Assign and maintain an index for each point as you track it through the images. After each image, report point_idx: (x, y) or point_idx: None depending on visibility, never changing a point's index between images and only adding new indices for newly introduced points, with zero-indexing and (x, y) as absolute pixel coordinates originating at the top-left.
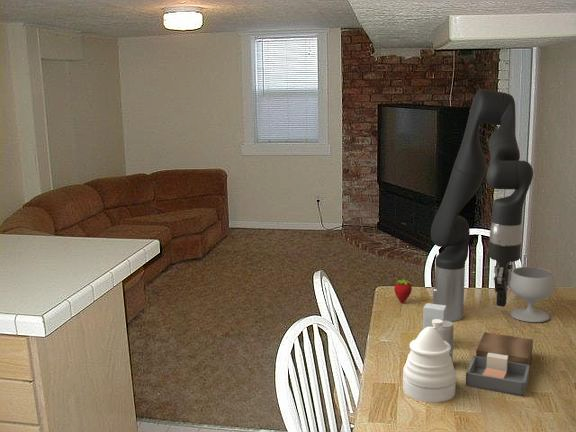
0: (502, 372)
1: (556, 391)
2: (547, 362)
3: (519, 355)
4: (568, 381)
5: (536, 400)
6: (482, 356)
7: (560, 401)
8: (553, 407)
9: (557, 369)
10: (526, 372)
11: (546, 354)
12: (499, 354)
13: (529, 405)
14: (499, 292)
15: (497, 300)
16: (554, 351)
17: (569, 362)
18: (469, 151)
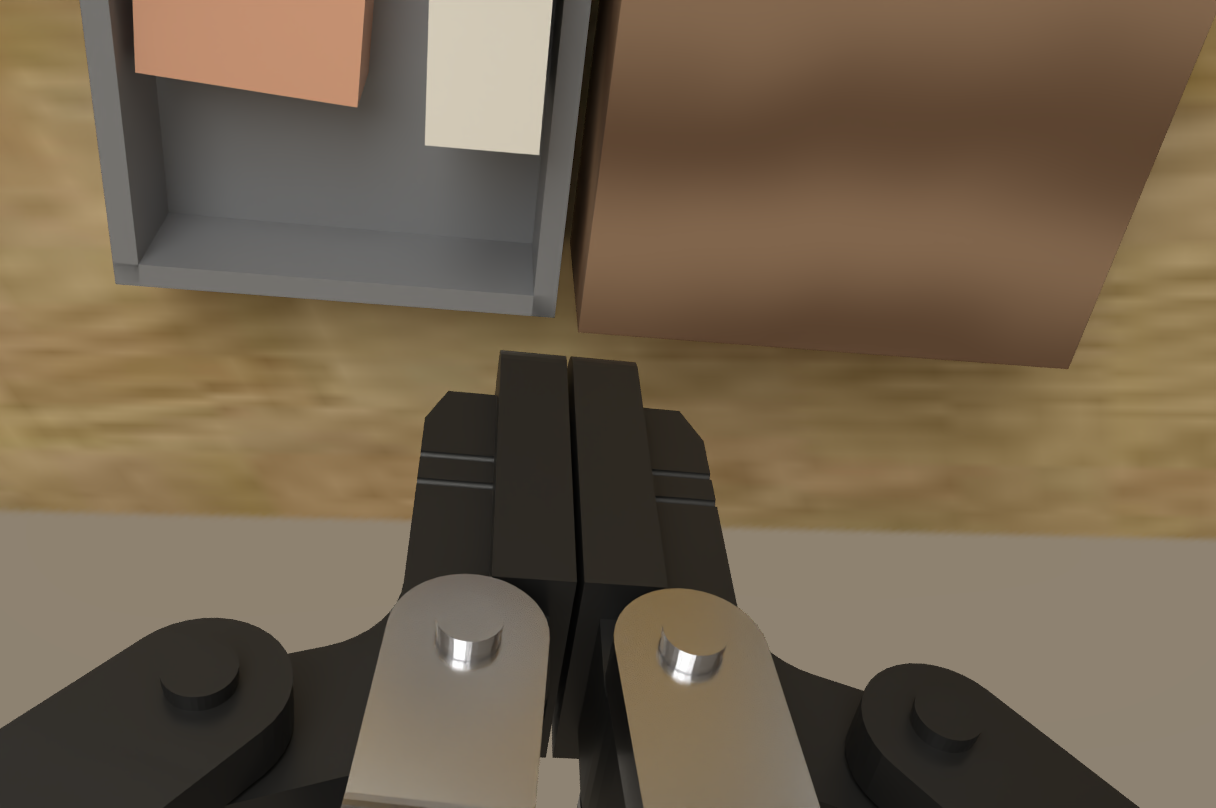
0: (317, 66)
1: (370, 437)
2: (889, 388)
3: (625, 255)
4: None
5: (140, 309)
6: None
7: (214, 457)
8: (89, 415)
9: (768, 449)
10: (369, 293)
11: (1050, 382)
12: (541, 57)
13: (18, 261)
14: (361, 660)
15: (492, 431)
16: (1114, 436)
17: (912, 521)
18: None
